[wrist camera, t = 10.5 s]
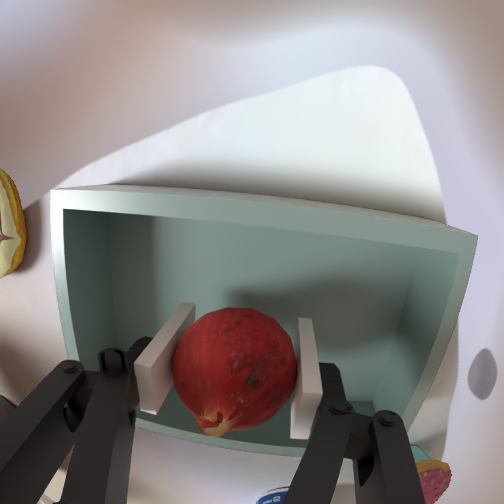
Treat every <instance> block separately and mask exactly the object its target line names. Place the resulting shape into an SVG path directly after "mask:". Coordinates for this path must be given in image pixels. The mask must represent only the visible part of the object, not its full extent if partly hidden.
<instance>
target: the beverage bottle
mask: <svg viewBox="0 0 504 504" xmlns="http://www.w3.org/2000/svg"><path fill="white" fill-rule="evenodd" d="M288 489H289V488H282V489H276V490H272V491H269V492H267V493H264V494H263V495H261V496H260V497H259V498H258V499H257V501H256V504H281V503H282V501H283V499H284V497H285V495H286V493H287V491H288Z"/></svg>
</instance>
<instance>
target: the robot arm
mask: <svg viewBox="0 0 504 504" xmlns="http://www.w3.org/2000/svg"><path fill="white" fill-rule="evenodd" d="M195 316H196V304H195V303H189V302H183V303H182V304H181V305H180V306H179V307H178V309H177V310H176V311H175V312H174V314H173V315H172V316H171V317H170V319H169V320H168V321H167V322H166V323H165V325H164V326H163V327H162V328H161V330H160V331H159V332H158V333H157V335H156V336H155V337H154V338H150V337H146V336H144V337H142V338H140V339H138V340H136V341H135V343H134V344H133V345H132V346H131V347H130V348H129V349H128V351H127V352H125V351H124V350H122V349H119V348H106V349H103V350H101V351H100V352H99V353H98V354H97V356H98V361H99V366H100V371H88V370H84V365H83V364H82V363H81V362H79V361H77V360H66V361H62V362H61V363H60V364H58V365H57V366H56V367H55V368H54V369H53V370H52V371H51V372H50V373H49V374H48V375H47V376H46V377H45V378H44V380H43V381H42V382H41V383H40V384H39V385H38V386H37V387H36V388H35V389H34V390H33V391H32V392H31V393H30V394H29V395H28V396H27V397H26V398H25V399H24V400H23V401H22V402H21V404H20V405H19V406H18V407H17V408H15V407H14V406H13V405H12V404H11V403H9V402H8V401H7V400H6V399H4V398H3V397H1V396H0V504H37V502H38V501H39V499H40V497H41V496H42V494H43V492H44V491H45V489H46V488H47V486H48V484H49V483H50V481H51V480H52V478H53V476H54V475H55V473H56V472H57V470H58V468H59V467H60V465H61V464H62V462H63V461H64V459H65V457H66V456H67V454H68V453H69V451H70V450H71V448H72V447H73V445H74V444H75V446H74V450H73V453H72V457H71V460H70V464H69V468H68V471H67V475H66V479H65V483H64V487H63V492H62V496H61V499H60V501H59V502H55V503H53V504H127V492H128V481H129V470H130V461H131V453H132V444H133V437H134V429H135V422H136V416H137V415H136V409H135V408H136V406H137V405H138V403H140V409H141V411H144V412H147V413H151V414H155V415H157V413H158V411H159V409H160V407H161V405H162V404H163V402H164V400H165V398H166V396H167V394H168V393H169V391H170V389H171V387H172V385H173V383H174V381H173V375H172V368H171V358H172V356H173V354H174V351H175V349H176V347H177V345H178V343H179V341H180V339H181V337H182V335H183V333H184V331H185V330H186V329H187V328H189V327H190V326H191V325H192V324H193V323H195ZM293 348H294V352H295V357H296V361H297V375H296V380H295V383H294V387H293V390H292V394H291V436H290V438H294V439H308V438H309V435H310V432H311V437H310V440H309V442H308V445H307V447H306V450H305V452H304V455H303V457H302V460H301V462H300V464H299V467H298V469H297V471H296V473H295V476H294V478H293V480H292V482H291V484H290V487H289V489H288V491H287V493H286V495H285V497H284V499H283V501H282V503H281V504H330V502H331V499H332V496H333V493H334V490H335V486H336V483H337V480H338V476H339V473H340V469H341V466H342V462H343V458H348V459H352V460H353V469H354V481H355V495H356V504H426V503H425V498H424V494H423V490H422V486H421V482H420V478H419V474H418V471H417V467H416V463H415V460H414V456H413V453H412V449H411V446H410V442H409V439H408V436H407V432H406V429H405V426H404V423H403V420H402V418H401V417H400V416H399V415H398V414H397V413H395V412H393V411H390V410H380V411H378V412H376V413H375V414H374V415H373V417H371V416H367V415H363V414H359V413H357V412H355V411H354V408H353V406H352V405H351V404H350V403H349V402H347V400H346V395H345V391H344V387H343V383H342V378H341V374H340V370H339V368H338V367H337V366H336V365H335V364H334V363H323V362H318V356H317V349H316V342H315V336H314V330H313V323H312V319H309V318H300V317H298V323H297V328H296V334H295V339H294V345H293ZM75 442H76V443H75Z"/></svg>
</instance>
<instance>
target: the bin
mask: <svg viewBox="0 0 504 504" xmlns="http://www.w3.org/2000/svg"><path fill="white" fill-rule="evenodd" d="M51 240H52V256H53V268H54V278H55V286H56V294H57V301H58V308H59V314H60V320H61V326H62V331H63V336H64V341H65V346H66V351H67V355H68V359H69V360H77V361H79V362H81V363H82V364H83V365H84V370H88V371H100V366H99V361H98V356H97V354H98V353H99V352H100V351H101V350H103V349H106V348H119V349H122V350H124V351H125V352H127V351H128V349H129V348H130V347H131V346H132V345H133V344H134V343H135V341H136V340H138V339H140V338H142V337H144V336H146V337H150V338H154V337H155V336H156V335H157V333H158V332H159V331H160V330H161V328H162V327H163V326H164V325H165V323H166V322H167V321H168V320H169V319H170V317H171V316H172V315H173V314H174V312H175V311H176V310H177V309H178V307H179V306H180V305H181V304H182V303H183V302H189V303H195V304H196V316H195V322H196V321H197V320H198V319H199V318H200V317H202V316H203V315H205V314H206V313H209V312H213V311H216V310H220V309H223V308H227V307H234V308H253V309H255V310H257V311H259V312H261V313H263V314H265V315H267V316H269V317H272V318H274V319H275V320H276V321H277V322H278V323H279V324H280V325H281V327H282V328H283V329H284V330H285V331H286V332H287V333H288V335H289V336H290V337H291V340H292V344H293V345H294V339H295V334H296V328H297V323H298V317H300V318H309V319H312V323H313V330H314V336H315V342H316V349H317V356H318V362H323V363H334V364H335V365H336V366H337V367H338V368H339V370H340V374H341V378H342V383H343V387H344V391H345V395H346V400H347V402H349V403H350V404H351V405H352V406H353V408H354V411H355V412H357V413H359V414H363V415H367V416H371V417H373V415H374V414H375V413H376V412H378V411H380V410H390V411H393V412H395V413H397V414H398V415H399V416H400V417H401V418H402V420H403V423H404V426H405V429H406V432H407V431H408V429H409V428H410V426H411V424H412V422H413V420H414V419H415V417H416V415H417V413H418V411H419V409H420V407H421V405H422V403H423V401H424V399H425V397H426V395H427V393H428V391H429V389H430V387H431V384H432V382H433V380H434V378H435V376H436V373H437V371H438V369H439V366H440V364H441V361H442V359H443V356H444V354H445V351H446V349H447V346H448V344H449V341H450V338H451V335H452V333H453V330H454V327H455V324H456V321H457V318H458V315H459V312H460V309H461V305H462V302H463V298H464V295H465V291H466V288H467V284H468V280H469V277H470V273H471V268H472V264H473V259H474V255H475V250H476V245H477V240H478V236H477V235H474V234H471V233H469V232H466V231H463V230H460V229H457V228H454V227H452V226H449V225H446V224H443V223H440V222H437V221H434V220H431V219H426V218H421V217H416V216H410V215H405V214H399V213H393V212H387V211H381V210H375V209H369V208H362V207H355V206H349V205H342V204H335V203H327V202H320V201H312V200H304V199H296V198H288V197H279V196H270V195H261V194H251V193H241V192H230V191H218V190H206V189H192V188H178V187H161V186H142V185H117V184H103V185H91V186H79V187H69V188H59V189H51ZM135 409H136V415H137V416H136V422H135V426H136V427H139V428H142V429H146V430H149V431H153V432H156V433H160V434H163V435H167V436H171V437H175V438H179V439H183V440H187V441H192V442H196V443H201V444H206V445H211V446H216V447H221V448H227V449H233V450H240V451H247V452H254V453H262V454H272V455H282V456H296V457H303V455H304V452H305V450H306V447H307V445H308V442H309V440H310V437H311V432H310V435H309V438H308V439H294V438H290V436H291V396H290V398H289V399H288V401H287V402H286V404H285V405H284V406H283V407H282V408H281V409H280V410H279V411H278V412H277V413H276V415H275V416H273V417H272V418H271V419H270V420H268V421H266V422H264V423H262V424H260V425H257V426H255V427H253V428H250V429H246V430H236V431H228V432H227V433H225V434H224V435H222V436H221V437H220V438H217V437H213V436H205V435H204V434H203V433H202V432H201V430H200V429H199V428H198V426H197V422H196V420H197V419H198V418H197V417H196V416H194V415H193V414H192V413H191V412H190V411H189V410H188V409H187V408H186V406H185V405H184V403H183V402H182V400H181V399H180V397H179V395H178V394H177V392H176V389H175V386H174V383H173V385H172V387H171V389H170V391H169V393H168V394H167V396H166V398H165V400H164V402H163V404H162V405H161V407H160V409H159V411H158V413H157V415H155V414H151V413H147V412H144V411H141V409H140V403H138V405H137V406H136V408H135Z"/></svg>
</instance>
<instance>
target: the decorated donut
mask: <svg viewBox="0 0 504 504" xmlns="http://www.w3.org/2000/svg"><path fill="white" fill-rule="evenodd" d="M26 239H27V233H26V226H25V215H24V213H23V210H22V206H21V201H20V197H19V193H18V191H17V188H16V185H15V184H14V181H13V180H12V179H11V178H10V176H8V175H7V174H6V173H5V171H3V170H1V169H0V279H1V278H2V277H4V276H6V275H7V274H9V273H11V272H13V271H14V270H15V269H17V267H18V266H19V264H20V263H21V262H22V260H23V254H24V250H25V245H26Z"/></svg>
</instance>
